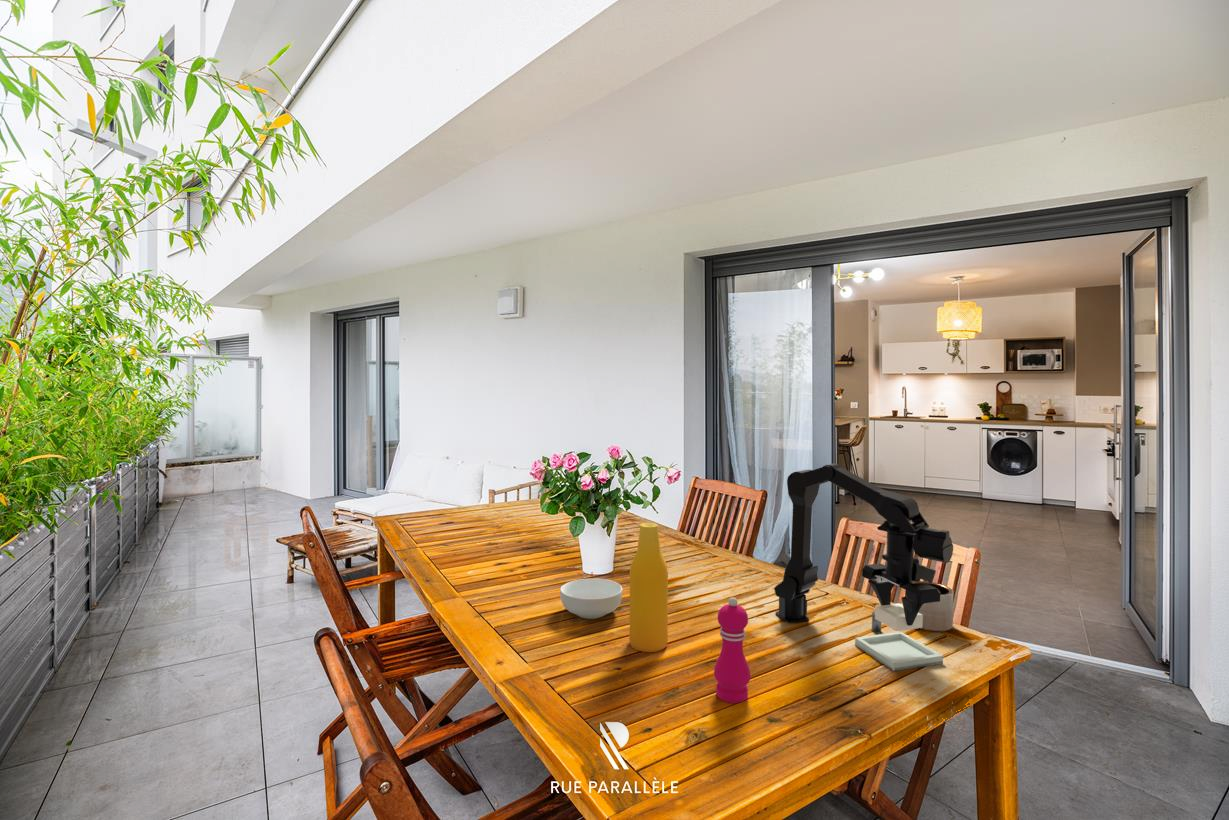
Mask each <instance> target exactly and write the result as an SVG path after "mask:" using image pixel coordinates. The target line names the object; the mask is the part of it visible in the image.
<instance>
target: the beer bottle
mask: <svg viewBox="0 0 1229 820" xmlns="http://www.w3.org/2000/svg"><path fill="white" fill-rule="evenodd" d="M638 532H639V534H638V542H637V548H636V552H635V554H634V556H633V558H632V561H631V564H630V568H629V630H628V631H629V632H628V633H629V634H628V637H629V638H628V639H629V643H630V646H631V647H632V648H633V649H634V650H637V651H639V652H643V653H656V652H659V651H663V649H665V648H667V645H668V641H669V632H668V631H669V630H668V629H669V628H668V626H669V624H668V623H669V622H668V621H669V619H668V617H669V612H668V611H669V610H668V609H669V607H668V606H669V595H668V594H669V590H668V589H669V587H668V586H669V571H668V570H669V569H668V564H667V562H666V560H665V558H664V555H663V553H662V551H661V550H662V549H661V544H660V535H659V525H658V524H657V523H655V522H643V523H640V524H639V531H638Z"/></svg>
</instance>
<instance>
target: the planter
mask: <svg viewBox="0 0 1229 820" xmlns="http://www.w3.org/2000/svg"><path fill="white" fill-rule="evenodd" d="M912 583H913V584H922V583H926V584H928V585H931V586H933V587H935V588H937V589H938V590H939V591H940V602H932V603H924V604H923V605H922V607H921V608H920V610H919V612H918V613H920V614H922V615H923V621H922V628H920V629H919V630H924V631H927V632H935V633H939V632H941V633H943V632H947V631H950V630H951V629H952V628H953V626H954V590H953V588H951V587H949V586H947V585H944V584H942V583H938V582H934V581H933V582H932V583H929V582H928V581H925V580H920V581H919V582H915V581H913V582H912ZM905 597H907V596H906V595H905Z"/></svg>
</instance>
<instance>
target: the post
mask: <svg viewBox="0 0 1229 820" xmlns="http://www.w3.org/2000/svg"><path fill="white" fill-rule="evenodd" d="M871 631H872V632H874V633H878V634H880V633H882V623H881V622H880V621H878V620H876V619H875V611H872V612H871Z"/></svg>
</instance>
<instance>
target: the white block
mask: <svg viewBox="0 0 1229 820" xmlns="http://www.w3.org/2000/svg"><path fill="white" fill-rule="evenodd" d="M874 612H875V619H876V620H878V621H880V622H881V624H883V625H885V626H887V627H889V628H890V629H892V630H893V631H895V632H902V631H908V630H916V629H919V628H922V621H923V615H922V614H920V613H918V614H917V616H916V618H915V620H914V623H913V625H911V626H908V625H907V622H906V619H905V613H904V608H903V603H902V602H901V603H891V604H890V605H881V604H880V605H875V607H874Z"/></svg>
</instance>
